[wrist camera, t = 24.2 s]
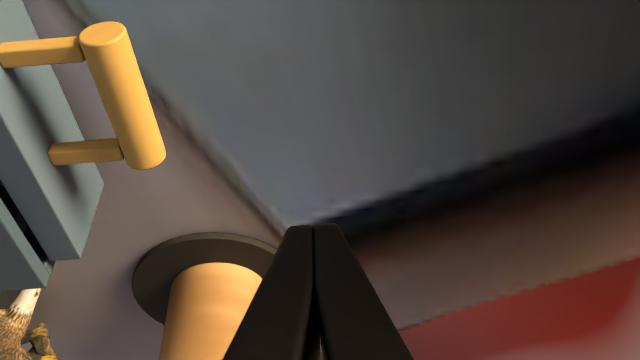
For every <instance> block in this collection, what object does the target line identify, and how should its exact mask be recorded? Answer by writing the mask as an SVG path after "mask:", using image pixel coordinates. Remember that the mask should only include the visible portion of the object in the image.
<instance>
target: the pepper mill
mask: <svg viewBox="0 0 640 360" xmlns="http://www.w3.org/2000/svg"><path fill="white" fill-rule="evenodd" d="M261 281H262V278H261V277H260V276H259V275H258V274H256V273H255V272H253V271H252V270H250V269H248V268H245V267H242V266H239V265H235V264H230V263H217V262H216V263H205V264H200V265H196V266H193V267H190V268H188V269H186V270H184V271H183V272H181V273H180V274H179V275H178V276H177V277H176V278H175V279H174V281H173V283H172V285H171V290H170V296H169V302H168V308H167V314H166V320H165V327H164V333H163V339H162V345H161V351H160V357H159V360H222V359H223V357H224V355H225V353H226V351H227V349H228V347H229V345H230V343H231V341H232V339H233V337H234V335H235V333H236V331H237V329H238V327H239V325H240V323H241V321H242V319H243V317H244V315H245V313H246V311H247V309H248V307H249V305H250V303H251V301H252V299H253V297H254V295H255V293H256V291H257V289H258V287H259V285H260V283H261Z"/></svg>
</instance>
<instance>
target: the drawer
mask: <svg viewBox="0 0 640 360" xmlns="http://www.w3.org/2000/svg"><path fill="white" fill-rule="evenodd" d="M85 59H86V61H87V64H88V66H89V69H90V71H91V74H92V76H93V79H94V81H95V84H96V87H97V89H98V92H99V94H100V97H101V99H102V102H103V104H104V107H105V109H106V112H107V114H108V117H109V119H110V122H111V124H112V127H113V129H114V132H115V134H116V137H117V138H111V139H99V140H86V141H85V140H84V138H83V135H82V133H81V131H80V129H79V126H78V124H77V122H76V120H75V118H74V115H73V113H72V111H71V109H70V106H69V104H68V102H67V100H66V97H65V95H64V93H63V91H62V89H61V86H60V84H59V82H58V80H57V77H56V75H55V73H54V71H53V68H52V66H51V64H63V63H75V62H83V61H85ZM165 156H166V150H165V147H164V144H163V141H162V137H161V134H160V131H159V128H158V125H157V122H156V119H155V116H154V113H153V110H152V107H151V104H150V101H149V98H148V95H147V92H146V89H145V86H144V82H143V79H142V76H141V73H140V70H139V67H138V64H137V61H136V58H135V55H134V52H133V49H132V46H131V43H130V40H129V37H128V34H127V31H126V28H125V27H124V26H123V25H122V24H120V23H118V22H101V23H97V24H94V25H91V26H89V27H87V28H86V29H84V30H83V31H82V32H81V33H80V34H79V36H75V37H63V38H51V39H39V37H38V35H37V33H36V31H35V28H34V26H33V24H32V22H31V19H30V17H29V15H28V13H27V10H26V8H25V6H24V4H23V2H22V0H0V198H1V200H2V201H3V203H4V204H5V206H6V208H7V209H8V211H9V212H10V214H11V215H12V217H13V219H14V220H15V222H16V223H17V225H18V226H19V228H20V230H21V231H22V233H23V234H24V231H25V229H26V227H27V224H28V226H29V227H30V229H31V231H32V232H33V234H34V235H35V237H36V239H37V240H38V242H39V244H40V245H41V247H42V248H43V250H44V252H45V253H46V255H47V256H48V258H49V260H50V261H57V260H70V259H80V258H81V257H82V253H83V250H84V247H85V244H86V241H87V237H88V234H89V231H90V228H91V225H92V221H93V218H94V215H95V212H96V209H97V205H98V202H99V199H100V196H101V193H102V189H103V186H104V182H103V180H102V178H101V176H100V173H99V171H98V169H97V167H96V164H95V162H106V161H118V160H123V159H124V157H125V160H126V162H127V164H128V165H129V166H130V167H131V168H133V169H136V170H148V169H151V168H154V167H156V166H158V165H159V164H160V163H161V162H162V161H163V160H164V158H165Z"/></svg>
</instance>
